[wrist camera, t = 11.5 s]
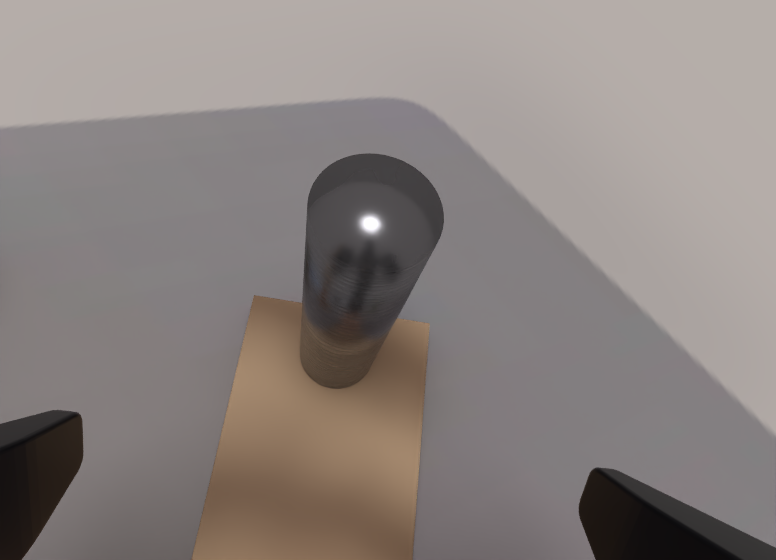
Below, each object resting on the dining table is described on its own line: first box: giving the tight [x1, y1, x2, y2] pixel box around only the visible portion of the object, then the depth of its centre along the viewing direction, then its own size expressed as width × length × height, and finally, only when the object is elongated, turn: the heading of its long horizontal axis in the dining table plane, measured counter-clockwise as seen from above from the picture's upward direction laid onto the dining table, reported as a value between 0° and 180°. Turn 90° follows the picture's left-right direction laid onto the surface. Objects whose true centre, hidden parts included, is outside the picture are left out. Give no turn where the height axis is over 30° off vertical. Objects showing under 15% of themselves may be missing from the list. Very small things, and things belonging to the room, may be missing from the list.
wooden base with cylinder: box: [191, 154, 444, 560], centre depth 15 cm, size 18×8×13 cm, turn 174°
